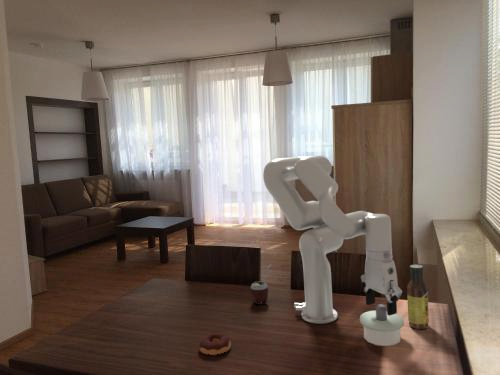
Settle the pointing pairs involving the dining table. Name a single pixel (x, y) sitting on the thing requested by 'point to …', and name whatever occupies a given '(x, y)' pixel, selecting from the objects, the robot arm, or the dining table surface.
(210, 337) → the donut
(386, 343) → the bowl
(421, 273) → the sauce bottle
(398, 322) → the lid
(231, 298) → the dining table surface
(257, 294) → the mate gourd
